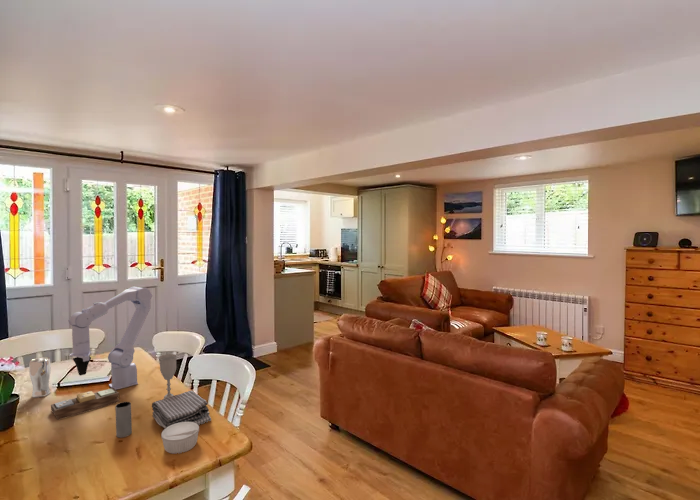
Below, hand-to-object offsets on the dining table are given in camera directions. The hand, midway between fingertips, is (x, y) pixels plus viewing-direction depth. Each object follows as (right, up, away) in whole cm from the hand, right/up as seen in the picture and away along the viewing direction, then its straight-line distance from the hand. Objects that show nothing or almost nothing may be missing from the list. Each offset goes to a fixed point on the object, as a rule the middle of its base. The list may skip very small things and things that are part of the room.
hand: (82, 374), depth 158 cm
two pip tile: (+6, -8, -6) cm, 12 cm away
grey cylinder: (+33, -12, -27) cm, 44 cm away
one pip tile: (+11, -9, -1) cm, 14 cm away
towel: (+48, -11, -17) cm, 52 cm away
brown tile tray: (+6, -10, -6) cm, 13 cm away
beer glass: (-20, -10, +4) cm, 23 cm away
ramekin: (+55, -12, -34) cm, 66 cm away
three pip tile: (+1, -9, -12) cm, 15 cm away
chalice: (+36, -10, -2) cm, 38 cm away
